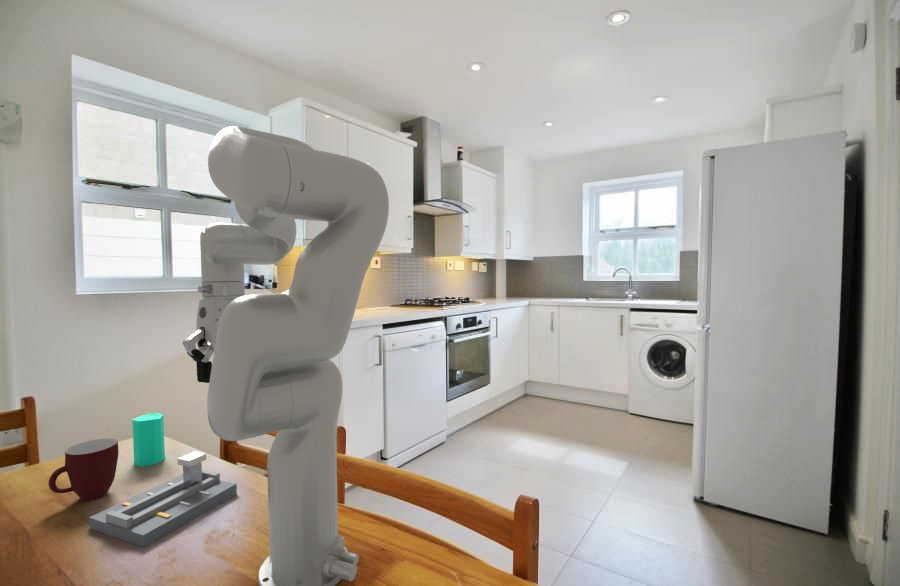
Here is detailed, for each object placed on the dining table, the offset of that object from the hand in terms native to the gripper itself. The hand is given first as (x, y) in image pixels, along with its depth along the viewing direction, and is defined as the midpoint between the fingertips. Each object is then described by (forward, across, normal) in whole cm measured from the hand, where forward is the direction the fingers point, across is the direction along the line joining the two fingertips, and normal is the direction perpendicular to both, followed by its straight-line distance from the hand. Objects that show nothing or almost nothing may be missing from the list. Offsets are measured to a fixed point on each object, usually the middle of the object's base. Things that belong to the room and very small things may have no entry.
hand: (226, 376), depth 86 cm
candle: (+23, +4, +30) cm, 38 cm away
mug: (+24, -12, +24) cm, 36 cm away
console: (+23, -9, +5) cm, 26 cm away
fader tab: (+21, -4, +5) cm, 22 cm away
